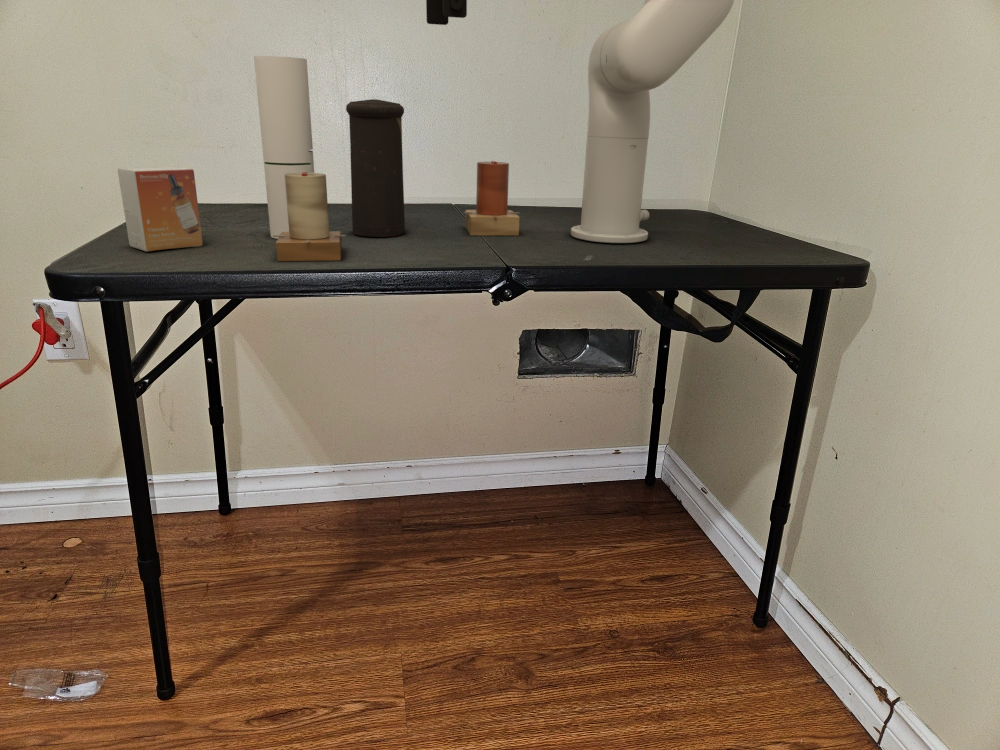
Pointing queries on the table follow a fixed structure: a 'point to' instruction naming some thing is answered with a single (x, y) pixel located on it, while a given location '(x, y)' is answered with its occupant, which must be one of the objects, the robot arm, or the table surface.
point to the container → (376, 168)
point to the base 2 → (492, 224)
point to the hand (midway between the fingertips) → (445, 20)
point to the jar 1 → (307, 205)
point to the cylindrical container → (283, 129)
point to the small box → (160, 207)
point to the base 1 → (309, 248)
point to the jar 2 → (492, 188)
